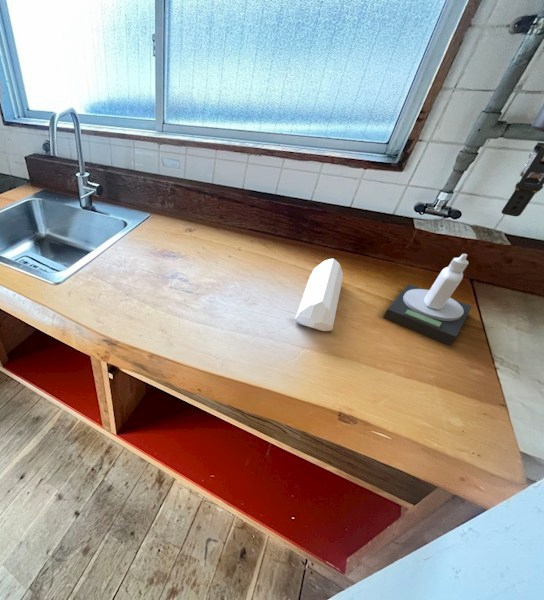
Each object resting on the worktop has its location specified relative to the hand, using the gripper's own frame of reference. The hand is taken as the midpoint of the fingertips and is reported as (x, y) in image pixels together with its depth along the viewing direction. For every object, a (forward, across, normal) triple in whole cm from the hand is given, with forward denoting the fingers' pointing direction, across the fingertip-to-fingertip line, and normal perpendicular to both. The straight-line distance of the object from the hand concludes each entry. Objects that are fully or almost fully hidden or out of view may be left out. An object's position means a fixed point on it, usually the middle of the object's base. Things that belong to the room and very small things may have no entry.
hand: (513, 207), depth 53 cm
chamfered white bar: (+26, -10, +20) cm, 34 cm away
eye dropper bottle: (+23, +3, +2) cm, 23 cm away
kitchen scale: (+26, +2, +2) cm, 26 cm away
